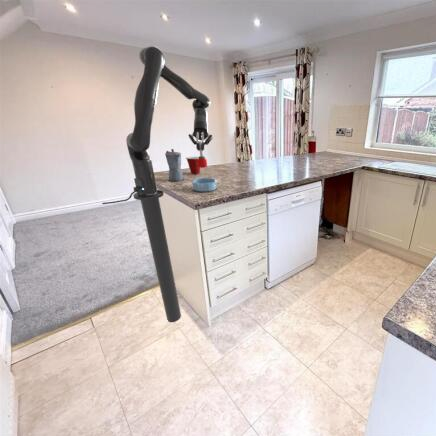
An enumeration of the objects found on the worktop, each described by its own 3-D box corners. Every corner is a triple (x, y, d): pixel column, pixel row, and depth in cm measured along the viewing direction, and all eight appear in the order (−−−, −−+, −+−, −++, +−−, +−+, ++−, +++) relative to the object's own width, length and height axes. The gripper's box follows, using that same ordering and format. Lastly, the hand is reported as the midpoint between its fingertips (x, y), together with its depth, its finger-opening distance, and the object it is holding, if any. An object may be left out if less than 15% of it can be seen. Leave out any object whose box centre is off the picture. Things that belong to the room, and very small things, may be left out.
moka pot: (176, 183, 156) (171, 150, 148) (162, 179, 163) (156, 148, 155) (189, 180, 164) (185, 149, 156) (175, 176, 171) (170, 146, 163)
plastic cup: (206, 172, 185) (204, 156, 180) (197, 175, 175) (195, 158, 170) (194, 171, 187) (192, 155, 183) (184, 174, 178) (182, 157, 173)
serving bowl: (205, 193, 139) (204, 185, 137) (188, 189, 144) (186, 181, 142) (221, 187, 150) (221, 179, 148) (205, 184, 155) (204, 176, 153)
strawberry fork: (202, 168, 139) (200, 142, 133) (196, 167, 141) (193, 141, 135) (209, 166, 143) (206, 141, 137) (202, 165, 145) (200, 140, 139)
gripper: (186, 120, 137) (185, 145, 131) (212, 120, 140) (212, 145, 134) (189, 129, 144) (188, 154, 138) (213, 129, 147) (214, 154, 141)
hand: (200, 149), depth 136 cm, fingers closed on strawberry fork, 1 cm apart
